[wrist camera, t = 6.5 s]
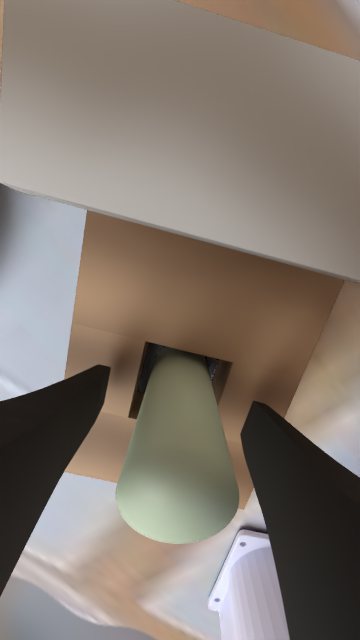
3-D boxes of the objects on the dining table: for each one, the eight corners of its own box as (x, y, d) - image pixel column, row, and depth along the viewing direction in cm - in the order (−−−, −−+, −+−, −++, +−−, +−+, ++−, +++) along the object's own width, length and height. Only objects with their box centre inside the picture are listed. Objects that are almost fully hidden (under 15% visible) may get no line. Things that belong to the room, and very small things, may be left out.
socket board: (234, 471, 15) (275, 631, 9) (73, 436, 15) (-19, 578, 8) (337, 214, 11) (573, 131, 4) (118, 151, 11) (6, -56, 4)
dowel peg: (198, 395, 14) (218, 553, 6) (148, 383, 14) (105, 530, 6) (213, 349, 13) (257, 464, 5) (160, 336, 13) (129, 435, 5)
